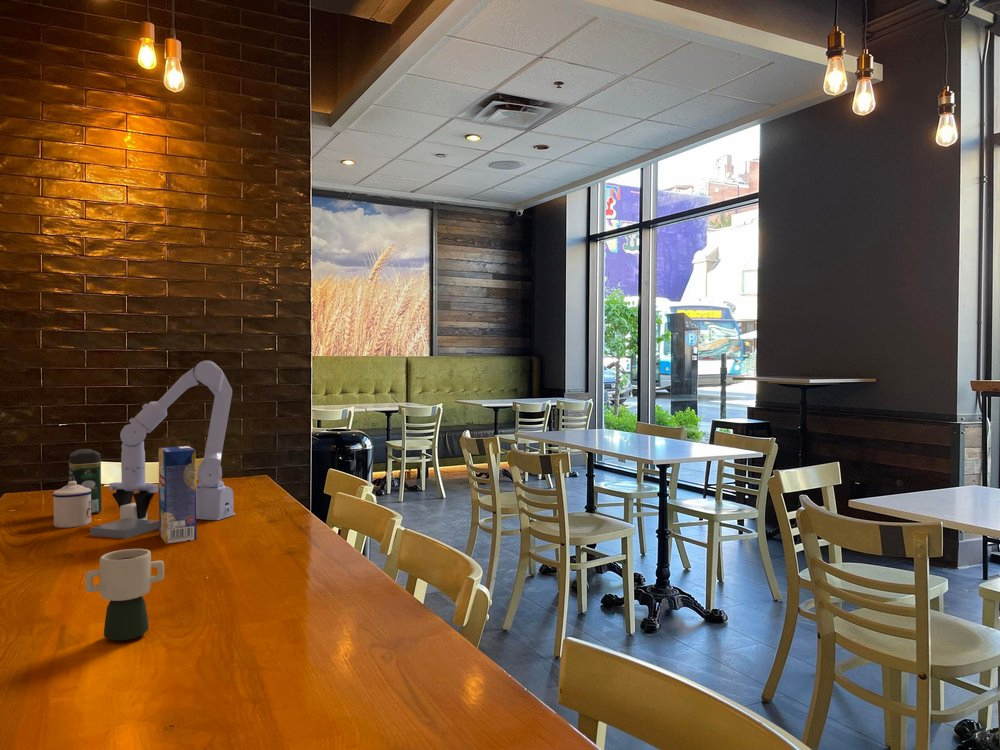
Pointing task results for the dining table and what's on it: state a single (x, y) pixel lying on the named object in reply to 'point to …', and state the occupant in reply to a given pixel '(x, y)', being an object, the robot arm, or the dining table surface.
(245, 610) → the dining table surface
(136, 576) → the character mug
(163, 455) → the beverage box
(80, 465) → the coffee jar
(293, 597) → the dining table surface
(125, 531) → the slate block
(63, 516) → the teacup with lid
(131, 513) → the cream cube
